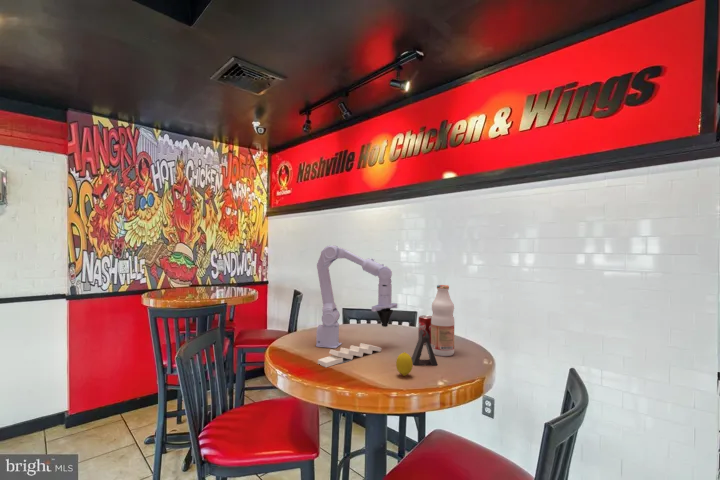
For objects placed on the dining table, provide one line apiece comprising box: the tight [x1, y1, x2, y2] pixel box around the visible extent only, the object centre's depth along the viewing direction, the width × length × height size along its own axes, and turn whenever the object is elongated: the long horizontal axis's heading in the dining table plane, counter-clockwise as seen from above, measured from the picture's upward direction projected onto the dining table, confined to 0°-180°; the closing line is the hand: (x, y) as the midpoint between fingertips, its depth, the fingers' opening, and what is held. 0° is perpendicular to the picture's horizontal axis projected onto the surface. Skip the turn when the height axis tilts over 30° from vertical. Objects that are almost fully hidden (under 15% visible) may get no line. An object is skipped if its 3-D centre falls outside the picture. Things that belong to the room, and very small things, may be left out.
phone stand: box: [411, 329, 439, 367], centre depth 135 cm, size 9×6×12 cm, turn 89°
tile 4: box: [328, 348, 354, 361], centre depth 137 cm, size 2×5×8 cm
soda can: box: [417, 314, 432, 346], centre depth 163 cm, size 7×7×12 cm
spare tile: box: [317, 354, 343, 368], centre depth 133 cm, size 2×5×8 cm
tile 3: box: [339, 347, 364, 358], centre depth 141 cm, size 2×5×8 cm
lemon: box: [395, 351, 414, 377], centre depth 121 cm, size 6×6×8 cm
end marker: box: [338, 358, 353, 365], centre depth 137 cm, size 6×6×1 cm
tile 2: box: [349, 344, 374, 355], centre depth 144 cm, size 2×5×8 cm
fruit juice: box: [431, 284, 455, 357], centre depth 148 cm, size 9×9×28 cm
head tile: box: [358, 342, 382, 353], centre depth 148 cm, size 2×5×8 cm
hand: (384, 326), depth 154 cm, fingers closed
